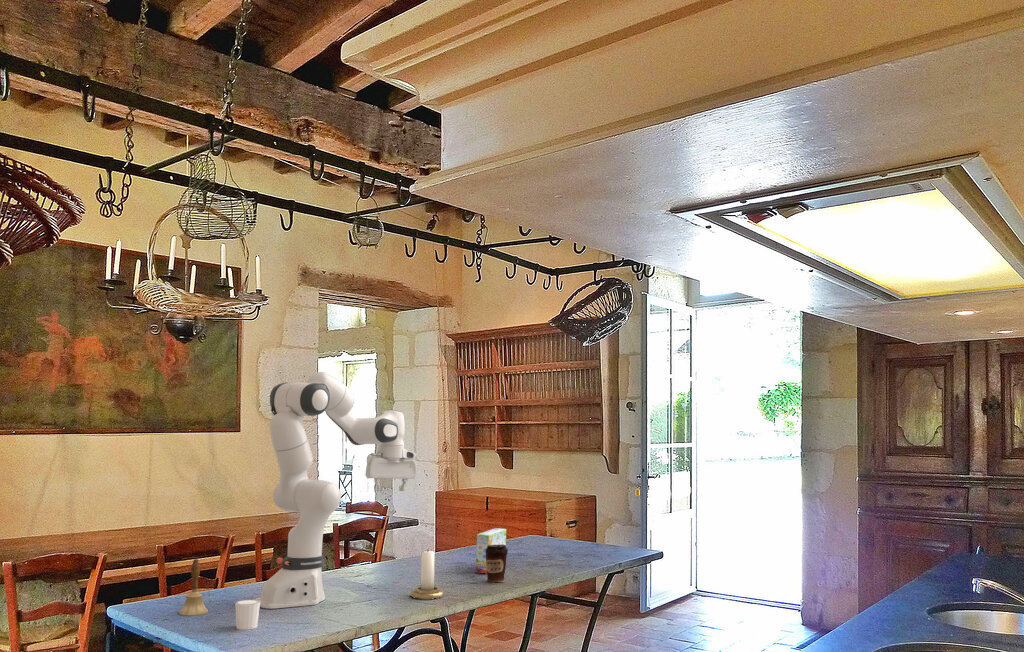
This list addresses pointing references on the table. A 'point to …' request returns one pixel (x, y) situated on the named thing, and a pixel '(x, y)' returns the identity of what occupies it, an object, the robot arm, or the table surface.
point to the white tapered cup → (247, 614)
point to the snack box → (484, 539)
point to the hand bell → (194, 595)
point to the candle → (427, 570)
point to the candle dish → (427, 593)
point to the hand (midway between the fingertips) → (390, 491)
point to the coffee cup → (496, 562)
